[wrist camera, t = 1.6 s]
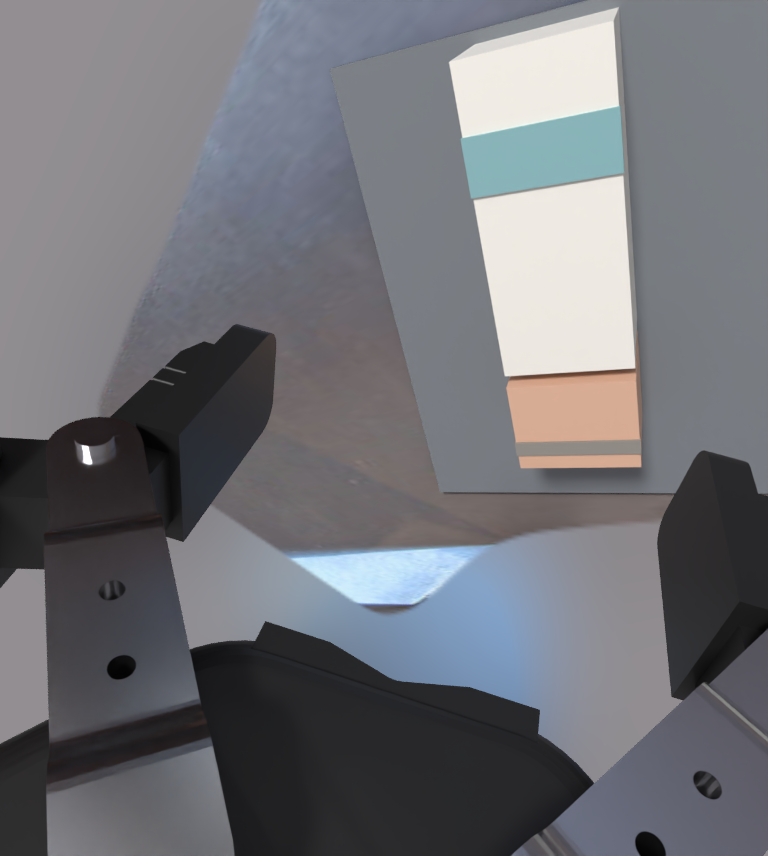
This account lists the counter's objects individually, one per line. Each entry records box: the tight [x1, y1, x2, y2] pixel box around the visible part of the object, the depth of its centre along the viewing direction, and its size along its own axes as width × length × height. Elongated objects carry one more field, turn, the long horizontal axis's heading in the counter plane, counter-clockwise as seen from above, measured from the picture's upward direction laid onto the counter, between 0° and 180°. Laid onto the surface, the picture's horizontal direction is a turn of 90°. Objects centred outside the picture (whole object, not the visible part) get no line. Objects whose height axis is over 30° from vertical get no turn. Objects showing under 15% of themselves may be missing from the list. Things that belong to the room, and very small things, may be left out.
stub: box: [506, 331, 642, 468], centre depth 35 cm, size 6×5×5 cm
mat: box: [330, 0, 768, 494], centre depth 35 cm, size 20×26×1 cm
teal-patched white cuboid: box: [449, 7, 637, 376], centre depth 30 cm, size 6×14×5 cm, turn 15°
